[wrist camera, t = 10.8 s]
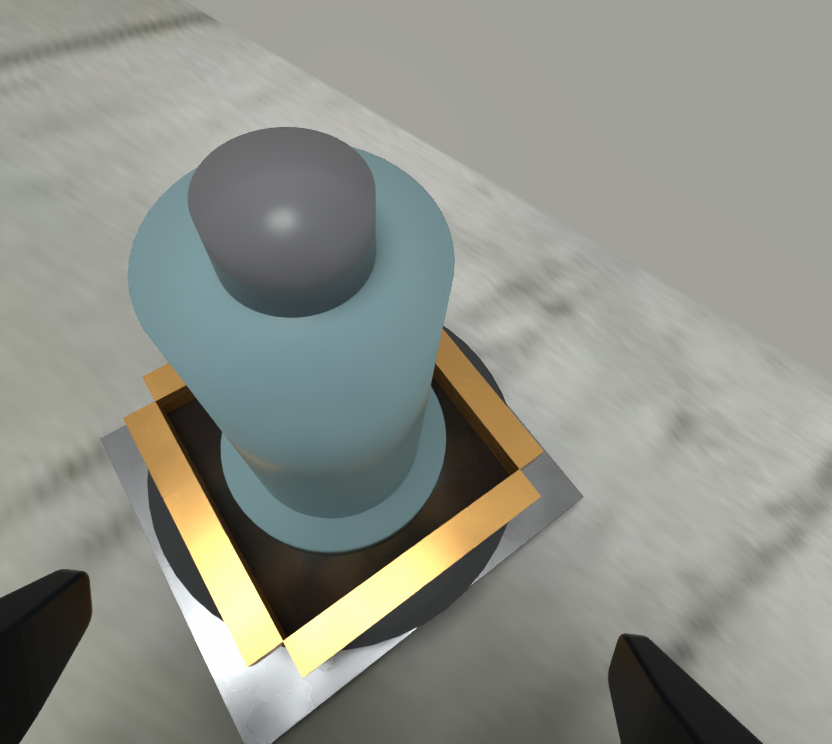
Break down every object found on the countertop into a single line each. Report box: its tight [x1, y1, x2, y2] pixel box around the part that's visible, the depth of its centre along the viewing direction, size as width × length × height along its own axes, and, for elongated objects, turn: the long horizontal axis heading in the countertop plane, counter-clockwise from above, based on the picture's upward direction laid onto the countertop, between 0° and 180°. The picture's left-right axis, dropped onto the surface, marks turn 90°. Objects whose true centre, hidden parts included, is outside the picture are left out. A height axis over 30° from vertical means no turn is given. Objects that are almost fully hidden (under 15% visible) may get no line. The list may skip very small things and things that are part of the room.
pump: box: [128, 127, 455, 556], centre depth 14 cm, size 9×8×13 cm
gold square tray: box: [100, 326, 583, 744], centre depth 21 cm, size 16×14×5 cm
